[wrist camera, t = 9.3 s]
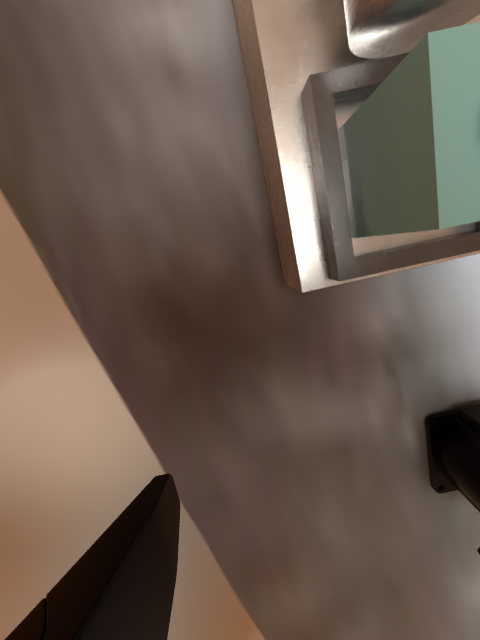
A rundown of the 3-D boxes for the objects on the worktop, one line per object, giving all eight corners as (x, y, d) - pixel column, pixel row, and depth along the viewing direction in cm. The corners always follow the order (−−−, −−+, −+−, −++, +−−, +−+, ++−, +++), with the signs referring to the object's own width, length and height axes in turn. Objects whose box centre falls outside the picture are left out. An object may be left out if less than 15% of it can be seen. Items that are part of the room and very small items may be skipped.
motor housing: (449, 246, 20) (683, 240, 10) (284, 282, 20) (344, 315, 10) (430, -58, 17) (761, -562, 6) (229, -12, 17) (235, -437, 6)
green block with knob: (458, 216, 15) (652, 187, 8) (356, 238, 15) (464, 226, 8) (453, 101, 14) (672, -44, 7) (343, 124, 14) (455, 2, 7)
